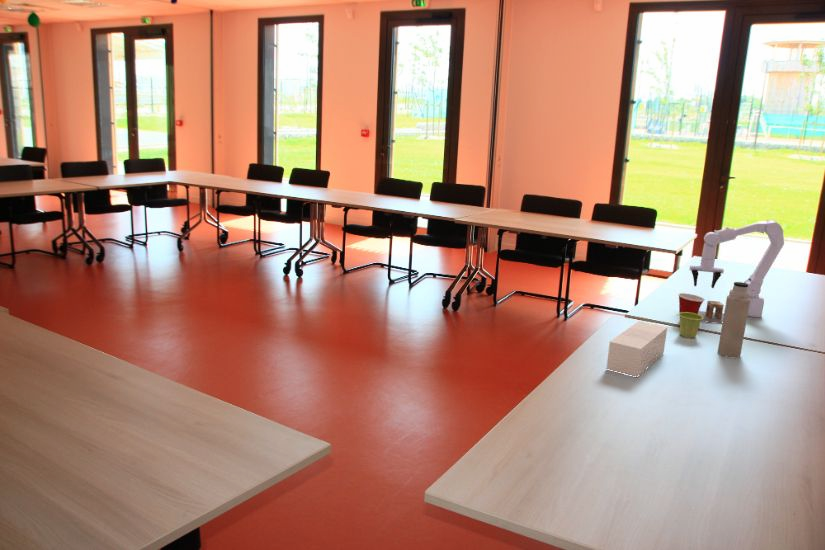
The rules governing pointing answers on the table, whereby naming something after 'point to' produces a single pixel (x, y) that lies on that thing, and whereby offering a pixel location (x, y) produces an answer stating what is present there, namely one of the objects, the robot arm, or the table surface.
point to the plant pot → (689, 324)
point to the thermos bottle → (734, 321)
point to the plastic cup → (689, 303)
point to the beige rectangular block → (636, 348)
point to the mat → (713, 319)
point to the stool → (718, 310)
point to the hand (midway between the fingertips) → (703, 286)
